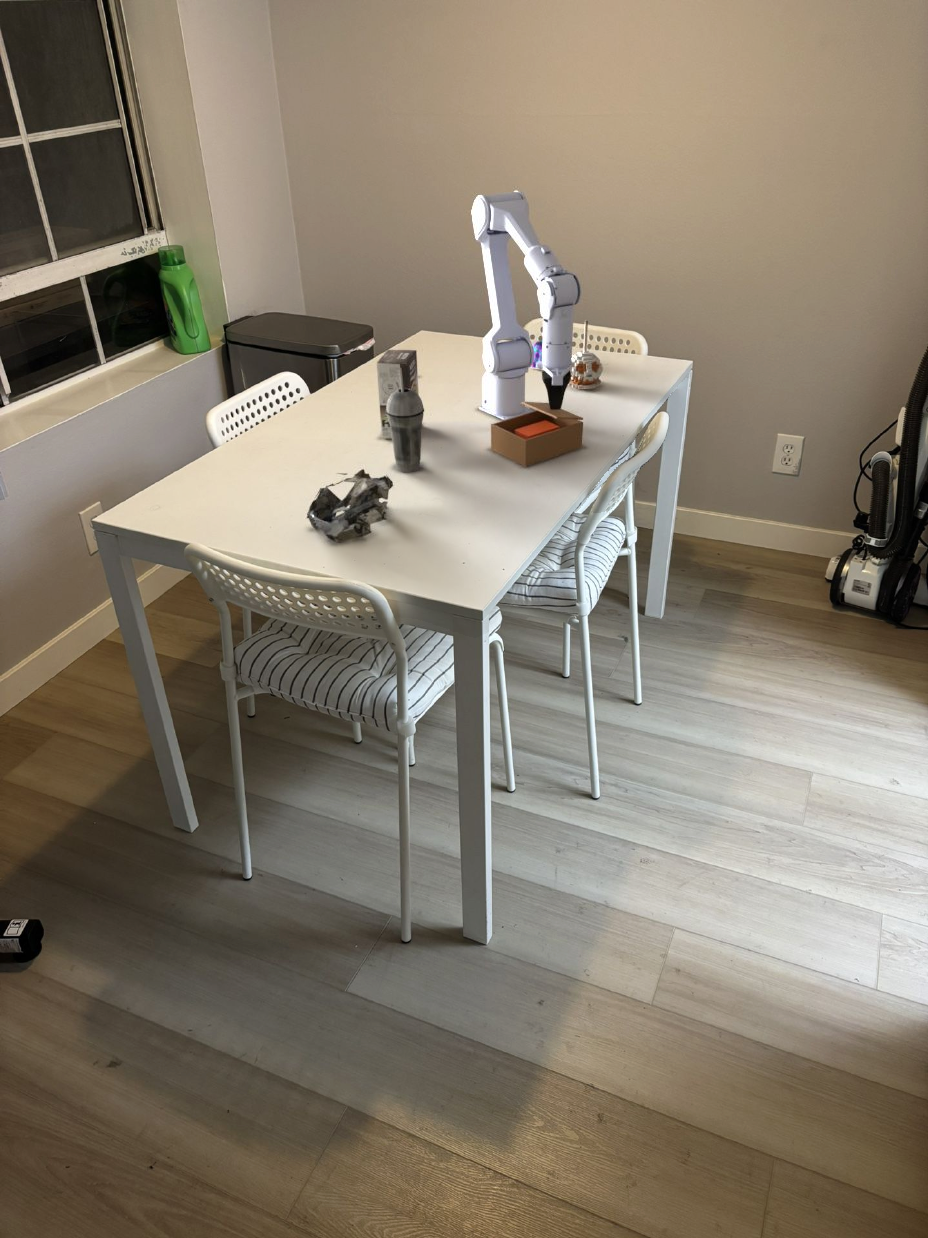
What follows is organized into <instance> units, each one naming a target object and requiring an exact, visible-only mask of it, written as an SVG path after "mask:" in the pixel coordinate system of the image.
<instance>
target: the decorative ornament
mask: <svg viewBox="0 0 928 1238" xmlns="http://www.w3.org/2000/svg"><path fill="white" fill-rule="evenodd" d="M588 328H589V320H587V319H584V328H583V329H584V330H583V350H579V351H578V352H577V351H576V353H574V354H572V363H573V365H572V368H571V369H570V371H571V380H570V382H569V384H568V386H567V387H571V388H573V389H579V390H592V389H594V388H598V387H599V386H601V384H602V380H601V379H600V378H601V376H602V373H604V372H603V369H604V367H603V363H602V362H601V359H600V358H599V357H598V356H597V355H596V354H595V353H594V352H590V350H588V348H587V347H588V331H589V330H588Z"/></svg>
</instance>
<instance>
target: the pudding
mask: <svg viewBox="0 0 928 1238" xmlns="http://www.w3.org/2000/svg"><path fill="white" fill-rule="evenodd" d="M542 343H543V340H538V341H536V342H534V344H532V346H533V348H534V361H533V364H532V366H531V367H529V368H528V369H532V370H538V371H539V370H541V371H544V370H543V369H542V368H536V362H537V361H542Z"/></svg>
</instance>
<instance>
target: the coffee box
mask: <svg viewBox="0 0 928 1238" xmlns="http://www.w3.org/2000/svg"><path fill="white" fill-rule="evenodd" d="M417 351H418V350H417V349H416V350H415V349H387V350H386V351H385V352H384V353H383V355H382V356H381V357H380V358H379V359H378V360H377V361H376V373H377V390H378V403H379V417H380V430H381V432H380V433H381V438H382V439H390V440H392V436H391V429H390V423H389V421H388V417H387V414H386V409H387V402H388V399H389V397H390V396H391V395H392V393H393V392H395V391H397V390H399V389H401V385H400V376H399V368H401V370H402V379H403V388H407V389H411V390H413V391H414V392H416V393H417V394H418V395H419V393H420V392H419V376H418V375H419V373H418V356H417ZM419 396H420V395H419Z"/></svg>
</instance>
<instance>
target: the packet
mask: <svg viewBox="0 0 928 1238" xmlns="http://www.w3.org/2000/svg"><path fill="white" fill-rule="evenodd" d="M558 429H559V426H557V425H555V424H553V423H551V422H548V421H546V420H544V421H541V422H538V423H535V424H531V425H528V426H525V427H522V428H519V429H516V430H515V435H517V436H519V437H521V438H523V439H526V440H527V439H530V438H533V437H536V436H539V435H542V434H545V433H548V432H551V431H554V430H558Z"/></svg>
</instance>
